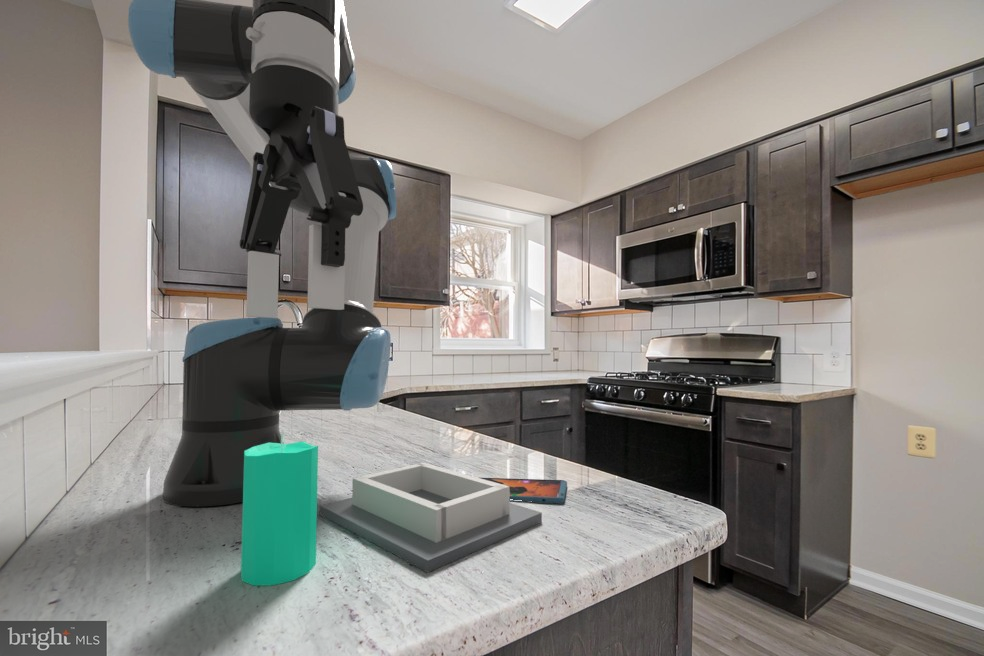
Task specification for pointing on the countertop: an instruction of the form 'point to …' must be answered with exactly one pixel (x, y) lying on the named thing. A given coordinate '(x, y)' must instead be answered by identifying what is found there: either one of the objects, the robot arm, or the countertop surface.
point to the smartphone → (534, 489)
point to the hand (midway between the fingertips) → (290, 314)
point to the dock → (429, 513)
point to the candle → (279, 512)
